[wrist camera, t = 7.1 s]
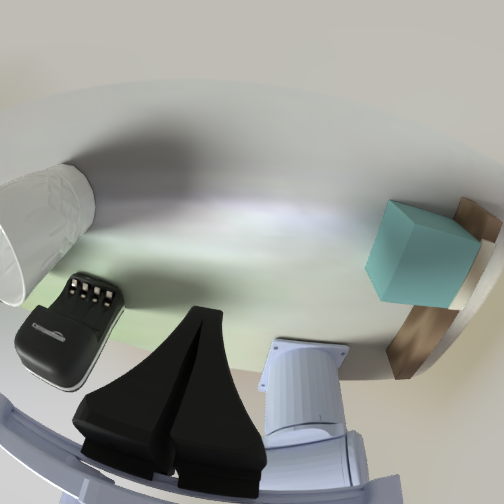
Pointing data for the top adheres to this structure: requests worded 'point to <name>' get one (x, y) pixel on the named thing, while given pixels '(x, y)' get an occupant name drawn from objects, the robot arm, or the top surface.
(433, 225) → the teal block
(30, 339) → the battery charger
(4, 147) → the top surface
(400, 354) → the walnut board
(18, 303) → the white cup
